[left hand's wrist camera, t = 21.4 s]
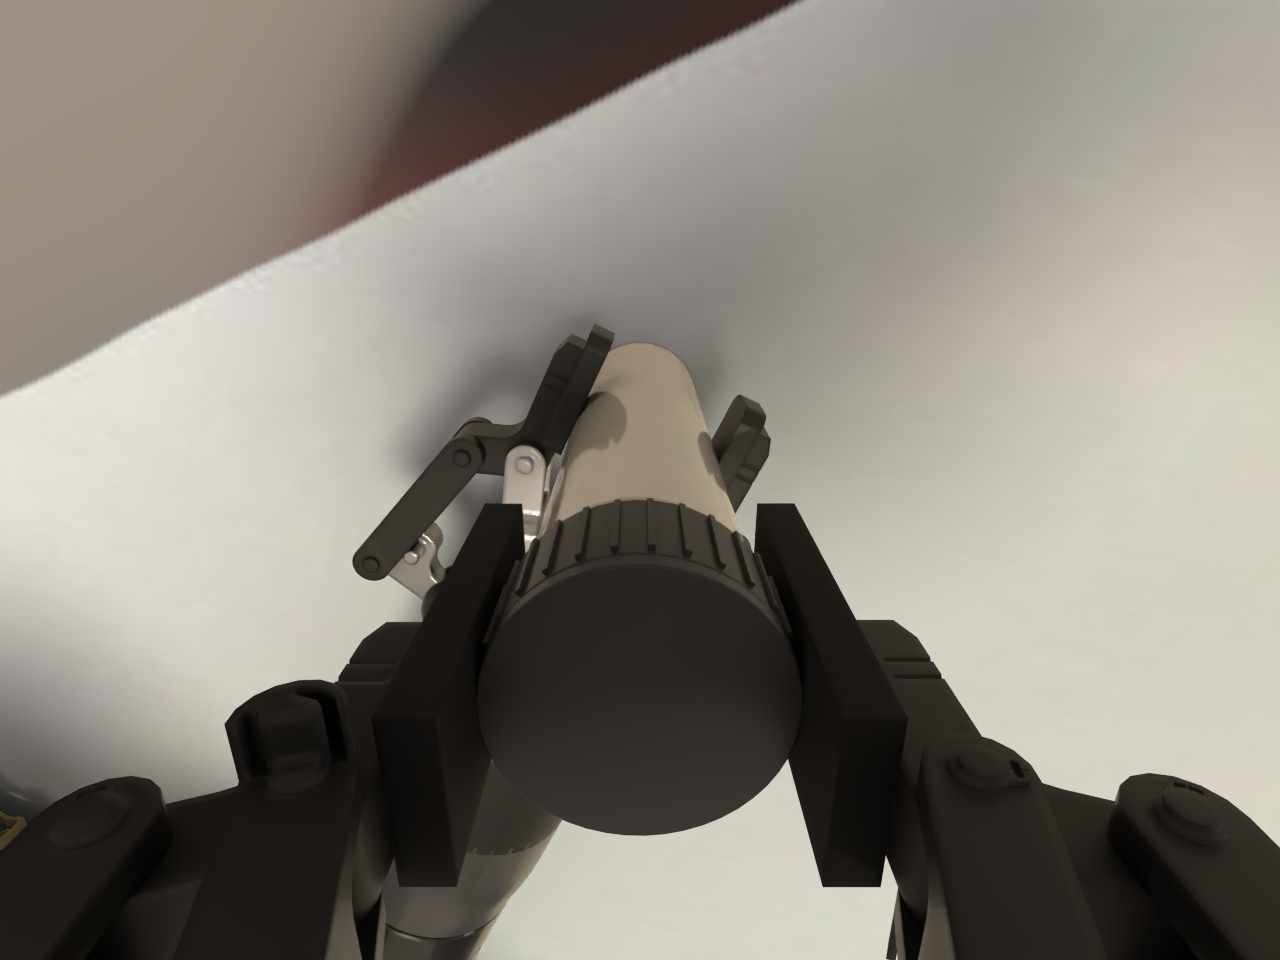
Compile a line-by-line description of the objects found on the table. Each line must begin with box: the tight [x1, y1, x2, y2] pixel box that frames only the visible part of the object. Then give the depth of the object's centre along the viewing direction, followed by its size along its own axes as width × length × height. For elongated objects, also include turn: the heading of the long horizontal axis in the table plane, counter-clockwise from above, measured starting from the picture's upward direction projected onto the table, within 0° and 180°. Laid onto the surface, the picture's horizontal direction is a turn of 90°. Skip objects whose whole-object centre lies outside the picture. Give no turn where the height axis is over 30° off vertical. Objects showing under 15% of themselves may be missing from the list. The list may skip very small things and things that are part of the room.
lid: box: [476, 498, 803, 836], centre depth 11 cm, size 5×5×2 cm
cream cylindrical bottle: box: [537, 343, 743, 541], centre depth 20 cm, size 4×4×18 cm
